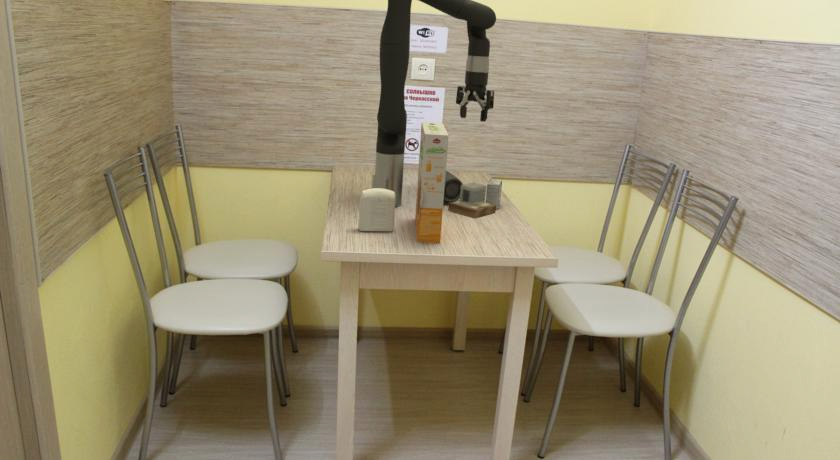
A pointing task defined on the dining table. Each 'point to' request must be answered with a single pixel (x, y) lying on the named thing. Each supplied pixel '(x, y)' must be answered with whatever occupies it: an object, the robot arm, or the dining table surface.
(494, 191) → the medicine box
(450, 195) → the bluetooth speaker
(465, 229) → the dining table surface
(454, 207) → the walnut frame
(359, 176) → the dining table surface
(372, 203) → the beige upright block
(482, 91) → the robot arm
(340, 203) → the dining table surface
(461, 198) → the steel housing
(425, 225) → the cereal box
